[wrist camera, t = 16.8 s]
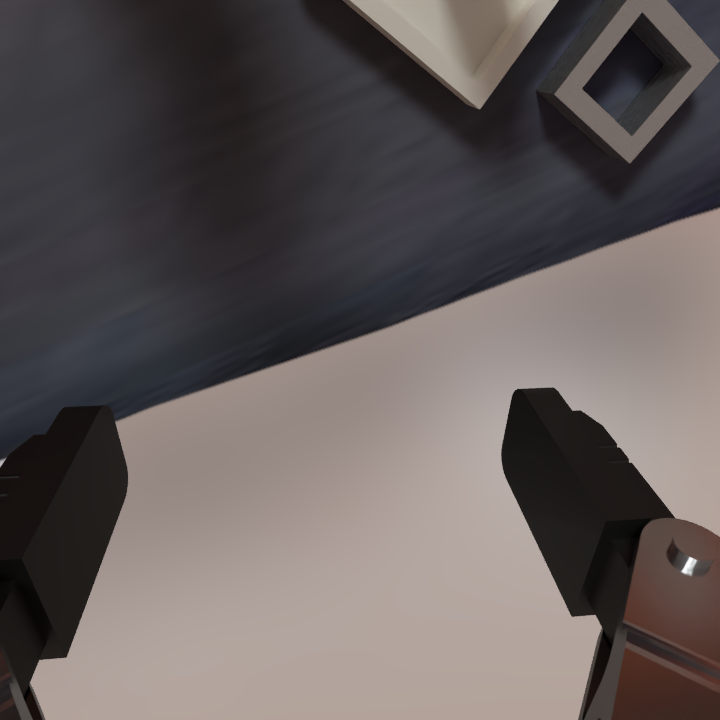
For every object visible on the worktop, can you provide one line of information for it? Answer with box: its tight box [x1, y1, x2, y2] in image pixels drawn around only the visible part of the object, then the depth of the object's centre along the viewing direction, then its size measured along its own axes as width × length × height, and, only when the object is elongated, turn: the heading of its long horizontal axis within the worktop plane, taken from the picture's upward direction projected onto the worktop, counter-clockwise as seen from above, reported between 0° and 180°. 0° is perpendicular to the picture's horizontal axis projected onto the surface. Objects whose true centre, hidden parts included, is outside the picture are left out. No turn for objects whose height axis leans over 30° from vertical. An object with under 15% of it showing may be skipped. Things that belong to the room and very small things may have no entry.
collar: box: [536, 0, 720, 164], centre depth 40 cm, size 8×8×4 cm
